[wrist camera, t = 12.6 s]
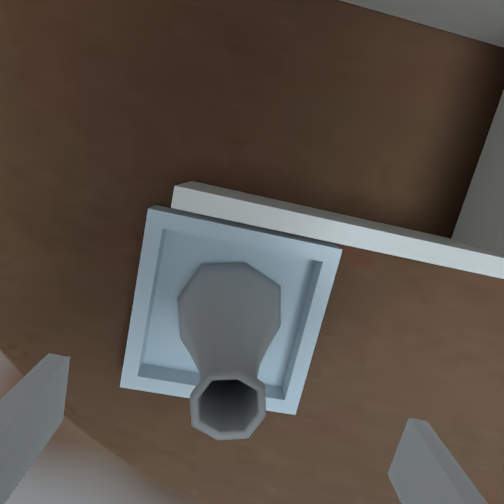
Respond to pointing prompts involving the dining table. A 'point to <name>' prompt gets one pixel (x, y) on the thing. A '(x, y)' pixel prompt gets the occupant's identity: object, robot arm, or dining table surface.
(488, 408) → the dining table surface
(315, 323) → the tray
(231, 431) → the flask
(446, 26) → the bay
